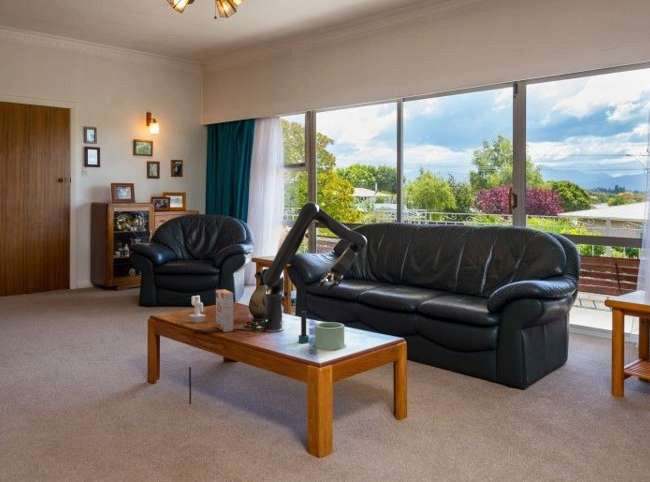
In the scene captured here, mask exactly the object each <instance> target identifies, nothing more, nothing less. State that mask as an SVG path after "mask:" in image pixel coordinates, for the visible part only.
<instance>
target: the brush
mask: <svg viewBox="0 0 650 482" xmlns="http://www.w3.org/2000/svg"><path fill="white" fill-rule="evenodd" d="M300 319H301V320H300V334H298V343H300V344H307V343H308V344H309V342H310V341H309V340H310V336H309V334H307V311H306V310H302V311H300Z"/></svg>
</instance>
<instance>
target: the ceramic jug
mask: <svg viewBox="0 0 650 482" xmlns="http://www.w3.org/2000/svg"><path fill="white" fill-rule="evenodd" d="M268 268H269V267H268ZM268 268H263V269H262V271H256V272H255V273H254V279H258V280H259V284H258V285H257V287H256V288H255V289H254V291H253V292H252V294H251V295H250V298H249V301H248V311H249V313H250V315H251V316H252V320H254V321H260V320H262V321H264V314H265V293H266V291H267V285H265V283H264V280H263V277H264V274H265V272H266V271H267V269H268Z"/></svg>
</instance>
